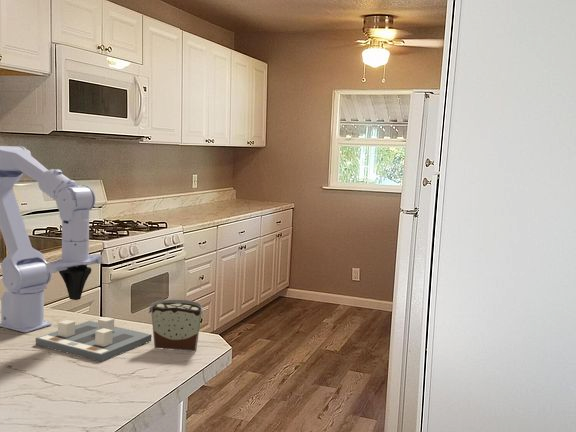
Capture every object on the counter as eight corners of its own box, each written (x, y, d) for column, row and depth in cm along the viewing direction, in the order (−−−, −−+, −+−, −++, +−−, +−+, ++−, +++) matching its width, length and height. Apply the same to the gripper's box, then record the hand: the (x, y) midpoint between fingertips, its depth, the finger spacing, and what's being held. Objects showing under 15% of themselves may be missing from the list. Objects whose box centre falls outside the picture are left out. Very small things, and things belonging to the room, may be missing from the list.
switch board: (35, 344, 130) (35, 337, 130) (89, 326, 145) (89, 320, 144) (101, 361, 122) (101, 354, 122) (151, 340, 136) (151, 334, 136)
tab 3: (95, 344, 127) (95, 331, 127) (103, 341, 130) (103, 328, 129) (104, 346, 126) (104, 333, 126) (112, 343, 129) (112, 330, 128)
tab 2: (98, 332, 136) (98, 319, 135) (105, 329, 138) (105, 317, 138) (106, 334, 135) (106, 321, 134) (114, 331, 137) (114, 318, 137)
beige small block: (58, 335, 132) (58, 322, 132) (66, 332, 134) (66, 319, 134) (66, 337, 131) (66, 324, 131) (74, 334, 133) (75, 321, 133)
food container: (208, 343, 137) (210, 301, 136) (202, 352, 131) (203, 307, 129) (156, 339, 138) (157, 297, 137) (147, 347, 132) (148, 304, 131)
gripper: (63, 245, 124) (62, 308, 126) (112, 238, 137) (111, 295, 139) (39, 242, 127) (39, 303, 129) (89, 234, 140) (88, 290, 142)
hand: (74, 299), depth 134 cm, fingers closed
